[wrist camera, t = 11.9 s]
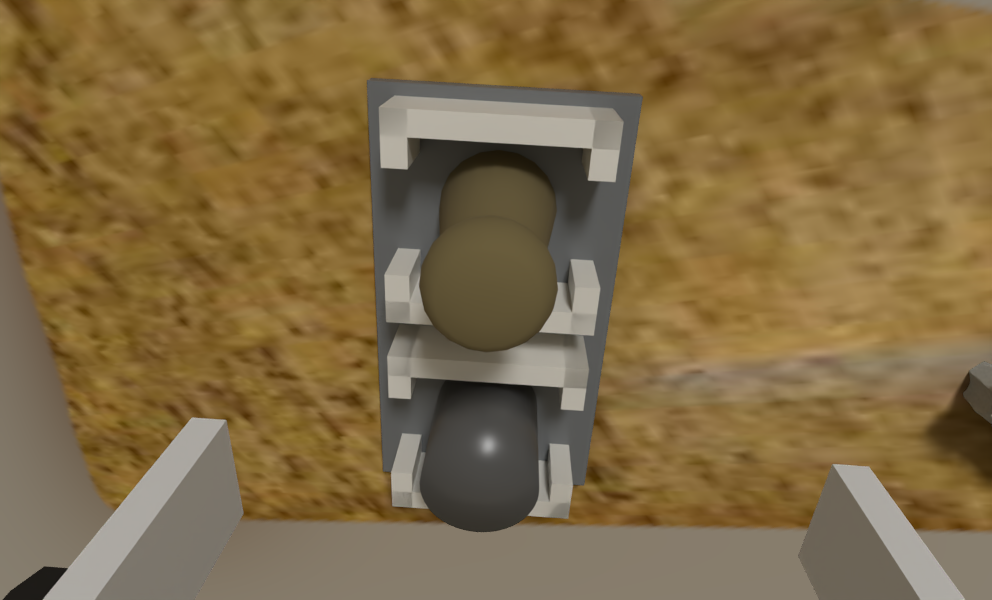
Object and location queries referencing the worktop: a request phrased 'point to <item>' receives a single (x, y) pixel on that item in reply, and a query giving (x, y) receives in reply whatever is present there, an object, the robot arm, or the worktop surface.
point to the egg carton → (980, 390)
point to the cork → (492, 254)
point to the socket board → (522, 369)
